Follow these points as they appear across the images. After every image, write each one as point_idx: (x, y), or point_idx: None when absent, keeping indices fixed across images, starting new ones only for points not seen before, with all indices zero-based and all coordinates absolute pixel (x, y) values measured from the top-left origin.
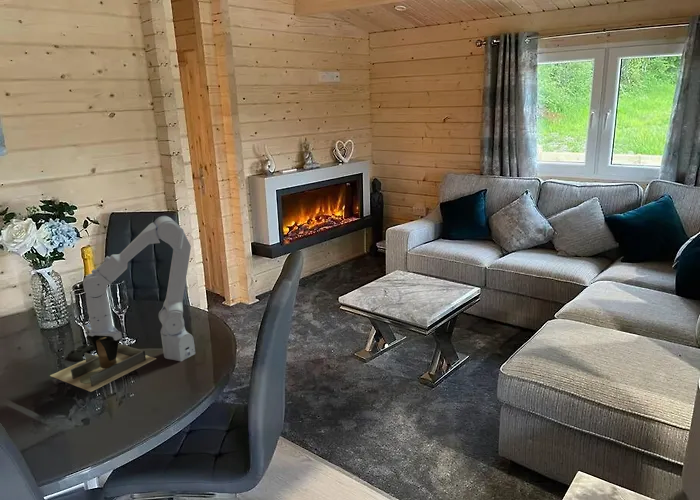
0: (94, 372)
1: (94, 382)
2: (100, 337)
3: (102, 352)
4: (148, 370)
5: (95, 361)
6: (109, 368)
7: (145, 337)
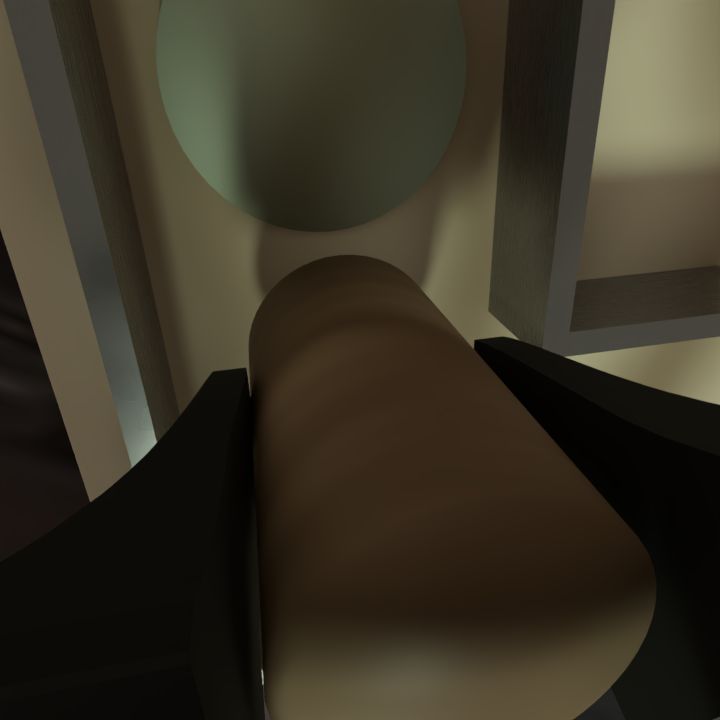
0: (408, 173)
1: None
2: (669, 650)
3: (317, 388)
4: (28, 538)
5: (534, 284)
6: (76, 263)
7: (600, 706)
